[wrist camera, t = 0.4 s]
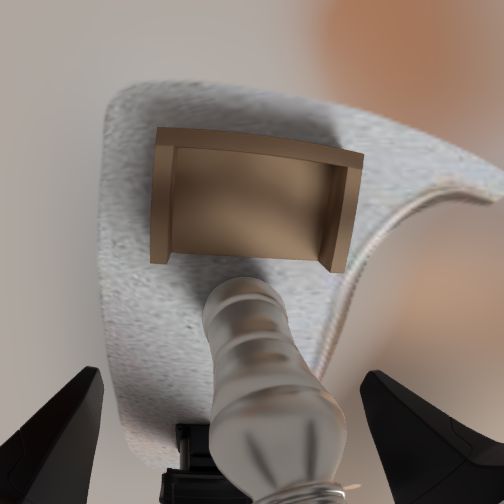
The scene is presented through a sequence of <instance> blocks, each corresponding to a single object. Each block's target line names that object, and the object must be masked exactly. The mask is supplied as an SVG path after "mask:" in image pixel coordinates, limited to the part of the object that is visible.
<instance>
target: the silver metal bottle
mask: <svg viewBox="0 0 504 504" xmlns="http://www.w3.org/2000/svg"><path fill="white" fill-rule="evenodd" d="M202 324H203V329H204V332H205V336H206V338H207V340H208V342H209V345H210V350H211V354H212V359H213V364H214V396H213V404H212V412H211V421H210V428H209V450H210V453H211V456H212V458H213V460H214V462H215V464H216V466H217V468H218V469H219V470H220V471H221V473H222V474H223V475H224V476H225V477H226V478H227V479H228V480H229V481H230V482H231V483H232V484H233V485H234V486H235V487H236V488H238V489H239V490H240V491H242V492H243V493H244V494H246V495H247V496H248V497H250V498H251V499H252V500H253V503H252V504H347V503H346V501H345V499H344V498H345V496H346V495H345V491H344V489H343V486H342V485H341V484H339V483H336V482H333V477H334V475H335V472H336V470H337V467H338V465H339V463H340V460H341V457H342V454H343V450H344V447H345V443H346V438H347V433H346V424H345V416H344V414H343V412H342V411H341V409H340V408H339V406H338V405H337V403H336V401H335V400H334V398H332V397H331V395H330V394H329V392H328V391H327V390H326V389H325V387H324V386H323V385H322V384H321V382H320V381H319V380H318V379H317V377H316V376H315V375H314V374H313V372H312V371H311V370H310V369H309V367H308V366H307V364H306V362H305V361H304V359H303V357H302V356H301V354H300V352H299V351H298V349H297V347H296V345H295V343H294V340H293V337H292V334H291V331H290V328H289V325H288V317H287V313H286V309H285V305H284V302H283V300H282V298H281V296H280V295H279V294H278V293H277V292H276V291H275V290H274V289H273V288H272V287H271V286H270V285H268V284H267V283H266V282H264V281H262V280H260V279H257V278H253V277H236V278H232V279H229V280H227V281H225V282H223V283H221V284H219V285H218V286H217V287H216V288H214V290H213V291H212V292H211V293H210V294H209V296H208V298H207V300H206V303H205V306H204V309H203V312H202Z"/></svg>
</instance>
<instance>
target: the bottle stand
mask: <svg viewBox="0 0 504 504" xmlns="http://www.w3.org/2000/svg"><path fill="white" fill-rule="evenodd" d="M363 160H364V154H362V153H358V152H353V151H349V150H344V149H339V148H335V147H330V146H325V145H319V144H314V143H308V142H303V141H297V140H291V139H284V138H277V137H270V136H263V135H255V134H247V133H238V132H228V131H217V130H204V129H188V128H166V127H157V136H156V146H155V156H154V168H153V183H152V200H151V228H150V263H153V264H167V263H168V260H169V257H170V254H171V252H173V253H189V254H206V255H222V256H239V257H256V258H274V259H291V260H309V261H319V262H320V263H321V264H322V265H323V266H324V267H325V268H326V269H327V270H328V271H329V272H330V273H344V271H345V267H346V262H347V257H348V252H349V247H350V242H351V237H352V232H353V226H354V220H355V215H356V209H357V203H358V196H359V190H360V183H361V176H362V168H363Z"/></svg>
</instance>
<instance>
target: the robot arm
mask: <svg viewBox="0 0 504 504" xmlns="http://www.w3.org/2000/svg"><path fill="white" fill-rule="evenodd" d="M103 394H104V384H103V381H102V378H101V374H100V370H99V369H98V368H96V367H90V366H86V367H85V368H84V369H83V370H81V372H79V373H78V374H77V375H76V376H75V377H74V378H73V379H72V380H70V381H69V382H68V383H67V384H66V385H65V386H64V387H63V388H62V389H61V390H60V391H59V392H58V393H57V394H55V395H54V396H53V397H52V398H51V399H50V400H49V401H48V402H47V403H46V404H45V405H44V406H43V407H42V408H40V409H39V410H38V411H37V412H36V413H35V414H34V415H33V416H32V417H31V418H30V419H29V420H28V421H27V422H26V423H25V424H24V425H23V426H22V427H21V428H20V430H17V431H16V432H15V434H13V435H12V436H11V437H10V438H9V439H8V440H7V441H6V442H5V443H3V444H2V445H1V446H0V504H86V503H87V496H88V489H89V483H90V477H91V471H92V465H93V460H94V455H95V450H96V445H97V440H98V435H99V429H100V420H101V419H100V418H101V410H102V402H103ZM360 394H361V397H362V402H363V405H364V410H365V414H366V418H367V422H368V426H369V428H370V431H371V434H372V437H373V439H374V443H375V445H376V448H377V451H378V454H379V457H380V460H381V462H382V465H383V468H384V471H385V474H386V477H387V480H388V483H389V486H390V489H391V493H392V496H393V498H394V502H395V504H504V443H500V442H496V441H494V440H492V439H490V438H488V437H486V436H484V435H482V434H480V433H478V432H476V431H474V430H472V429H470V428H468V427H466V426H465V425H463V424H461V423H460V422H458V421H457V420H455V419H453V418H452V417H449V415H447V414H446V413H444V412H442V411H441V410H439V409H437V408H436V407H435V406H433V405H432V404H430V403H428V402H427V401H425V400H424V399H422V398H421V397H419V396H418V395H416V394H415V393H413V392H412V391H410V390H409V389H407V388H406V387H404V386H403V385H401V384H400V383H398V382H397V381H395V380H394V379H392V378H391V377H389V376H388V375H386V374H384V373H383V372H382V371H380V370H372V371H369V372H368V373H367V374H366V376H365V378H364V380H363V382H362V384H361V386H360ZM209 428H210V425H187V424H177V425H176V436H177V445H178V452H179V453H180V469H172V468H167V472H166V473H164V474H162V485H161V491H160V497H159V502H160V503H161V504H252V503H253V500H252V499H251V498H250V497H248V496H247V495H246V494H244V493H243V492H242V491H240V490H239V489H238V488H236V487H235V486H234V485H233V484H232V483H231V482H230V481H229V480H228V479H227V478H226V477H225V476H224V475H223V474H222V473H221V471H220V470H219V469H218V468H217V466H216V464H215V462H214V460H213V458H212V456H211V453H210V450H209Z"/></svg>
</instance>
